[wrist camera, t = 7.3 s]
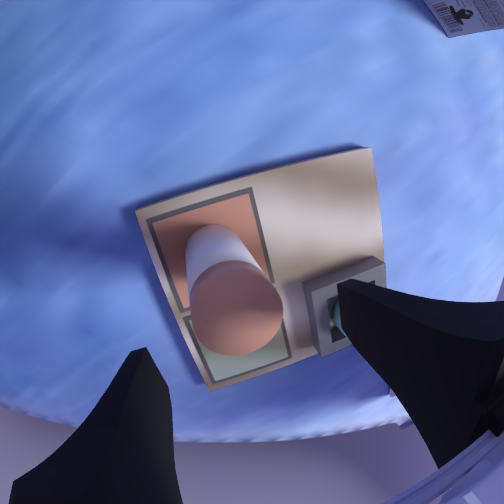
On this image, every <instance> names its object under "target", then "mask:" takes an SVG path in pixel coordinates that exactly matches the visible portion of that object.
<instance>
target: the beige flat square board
mask: <svg viewBox="0 0 504 504" xmlns="http://www.w3.org/2000/svg"><path fill="white" fill-rule="evenodd" d="M135 213H136V216H137V219H138V222H139V225H140V228H141V231H142V234H143V237H144V239H145V242H146V245H147V248H148V250H149V253H150V256H151V259H152V261H153V264H154V266H155V269H156V272H157V274H158V277H159V279H160V282H161V284H162V287H163V289H164V292H165V294H166V297H167V299H168V302H169V304H170V306H171V309H172V311H173V314H174V316H175V318H176V321H177V323H178V325H179V327H180V330H181V332H182V334H183V337H184V339H185V341H186V343H187V345H188V348H189V350H190V352H191V354H192V356H193V358H194V361H195V363H196V365H197V367H198V369H199V371H200V373H201V375H202V377H203V379H204V381H205V383H206V385H207V387H208V389H209V391H213V390H216V389H220V388H223V387H226V386H229V385H233V384H236V383H239V382H242V381H245V380H248V379H251V378H254V377H257V376H260V375H263V374H266V373H268V372H271V371H274V370H277V369H280V368H282V367H285V366H288V365H290V364H293V363H296V362H298V361H301V360H303V359H306V358H309V357H311V356H314V355H316V354H318V352H317V350H316V349H315V348H314V346H313V340H312V334H311V329H310V323H309V317H308V311H307V306H306V300H305V295H304V289H303V284H302V282H304V281H307V280H309V279H312V278H315V277H318V276H321V275H323V274H326V273H329V272H332V271H334V270H337V269H340V268H342V267H345V266H348V265H350V264H353V263H356V262H358V261H361V260H364V259H366V258H369V257H371V256H375V257H376V258H378V259H379V260H381V261H383V262H384V251H383V237H382V226H381V215H380V206H379V197H378V189H377V181H376V174H375V167H374V161H373V154H372V148H371V147H360V148H355V149H351V150H346V151H341V152H336V153H332V154H327V155H322V156H318V157H314V158H309V159H305V160H301V161H296V162H292V163H288V164H284V165H280V166H276V167H272V168H268V169H264V170H261V171H257V172H253V173H249V174H246V175H242V176H238V177H235V178H231V179H228V180H224V181H221V182H217V183H214V184H210V185H207V186H204V187H200V188H197V189H194V190H191V191H187V192H184V193H181V194H178V195H175V196H172V197H168V198H165V199H162V200H159V201H156V202H153V203H150V204H147V205H144V206H141V207H139V208H137V209H136V210H135ZM210 224H219V225H224V226H226V227H229V228H230V229H232V230H233V231H234V232H235V233H236V234H237V235H238V237H239V238H240V239H241V241H242V242H243V244H244V245H245V247H246V248H247V249H248V251H249V252H250V254H251V255H252V257H253V258H254V259H255V261H256V262H257V264H258V265H259V266H260V268H261V269H262V271H263V272H264V274H265V275H266V276H267V278H268V279H269V281H270V282H271V283H272V285H273V286H274V288H275V289H276V291H277V292H278V293H279V295H280V297H281V300H282V303H283V319H282V323H281V325H280V328H279V330H278V331H277V333H276V334H275V336H274V337H273V338H272V339H271V340H270V341H269V342H268V343H267V344H266V345H264V346H263V347H261V348H260V349H258V350H256V351H253V352H251V353H248V354H244V355H236V356H230V355H222V354H219V353H216V352H213V351H211V350H209V349H208V348H206V347H205V346H204V345H203V344H202V343H201V342H200V341H199V340H198V338H197V337H196V335H195V333H194V330H193V327H192V321H191V312H190V303H189V293H188V283H187V273H186V261H185V247H186V244H187V241H188V239H189V238H190V236H191V235H192V234H193V233H194V232H195V231H196V230H198V229H199V228H201V227H203V226H206V225H210ZM337 298H338V295H337V296H334V297H331V298H329V299H327V306H328V313H329V321H330V329H332V328H335V327H337V326H336V325H335V324H334V323H333V321H332V319H331V310H332V307H333V304H334V303H335V301H336V300H337Z"/></svg>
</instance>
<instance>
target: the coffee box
mask: <svg viewBox="0 0 504 504" xmlns="http://www.w3.org/2000/svg"><path fill="white" fill-rule="evenodd" d="M423 1H424V3H425V4H426V5H427V7H428V8H429V9H430V11H431V12H432V13H433V15H434V16H435V18H436V19H437V21H438V22H439V23H440V25H441V26H442V28H443V29H444V31H445V32H446V34H447V36H448V37H449V38H452V37H456V36H461V35H467V34H472V33H477V32H483V31H489V30H496V29H504V0H423Z"/></svg>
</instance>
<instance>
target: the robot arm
mask: <svg viewBox="0 0 504 504" xmlns="http://www.w3.org/2000/svg"><path fill="white" fill-rule="evenodd" d="M337 292H338V301H339V309H340V319H341V328H342V329H343V331H344V332H345V334H346V336H347V337H348V339H349V340H350V342H351V343H352V345H353V346H354V347H355V348H356V350H357V351H358V352H359V353H360V354H361V355H362V356H363V358H364V359H365V360H366V361H367V362H368V363H369V364H370V365H371V366H372V368H373V369H374V370H375V371H376V372H377V373H378V374H379V375H380V376H381V378H382V379H383V380H384V381H385V382H386V383H387V384H388V386H389V387H390V392H389V395H390V397H394V396H397V398H398V399H399V401H400V402H401V404H402V405H403V406H404V408H405V409H406V411H407V413H408V414H409V416H410V417H411V419H412V421H413V422H414V424H415V425H416V427H417V429H418V431H419V432H420V434H421V436H422V438H423V439H424V441H425V443H426V445H427V447H428V449H429V451H430V453H431V455H432V457H433V459H434V461H435V463H436V465H437V467H438V470H437V471H435V472H434V473H433V474H431V475H430V476H428V477H426V478H425V479H423V480H422V481H420V482H419V483H417V484H416V485H414V486H412V487H411V488H409V489H407V490H406V491H404V492H402V493H401V494H399V495H397V496H395V497H394V498H392V499H390V500H388V501H386V502H385V503H383V504H428V503H430V502H431V501H433V500H434V499H436V498H437V497H439V496H440V495H441V494H442V493H444V492H446V491H447V490H448V489H449V490H448V491H447V492H446V493H445V494H444V495H442V498H441V501H440V502H439V503H438V504H504V301H496V302H454V301H444V300H437V299H430V298H424V297H419V296H415V295H410V294H406V293H402V292H398V291H395V290H391V289H387V288H384V287H381V286H377V285H374V284H370V283H367V282H363V281H360V280H356V279H348V280H346V281H343V282H340V283H338V284H337ZM451 487H452V488H451ZM450 488H451V489H450ZM9 504H183V502H182V498H181V494H180V490H179V485H178V480H177V475H176V470H175V462H174V447H173V422H172V407H171V400H170V394H169V389H168V385H167V384H166V382H165V380H164V379H163V377H162V375H161V373H160V372H159V370H158V368H157V366H156V364H155V363H154V361H153V359H152V357H151V355H150V353H149V352H148V350H147V348H146V347H145V348H141V349H138V350H134V351H131V352H130V354H129V355H128V356H127V358H126V359H125V361H124V363H123V364H122V366H121V368H120V369H119V371H118V372H117V374H116V376H115V377H114V379H113V380H112V382H111V384H110V385H109V387H108V388H107V390H106V391H105V393H104V394H103V396H102V397H101V399H100V400H99V402H98V403H97V405H96V406H95V408H94V409H93V410H92V412H91V413H90V414H89V416H88V417H87V418H86V419H85V421H84V422H83V423H82V424H81V425H80V426H79V428H78V429H77V430H76V431H75V432H74V433H73V434H72V435H71V436H70V437H69V438H68V439H67V440H66V442H64V443H63V444H62V445H61V446H60V447H59V448H58V449H57V450H56V451H55V452H54V453H53V454H52V455H50V456H49V457H48V458H47V459H45V460H44V461H43V462H42V463H40V464H39V465H38V466H36V467H35V468H33V469H32V470H30V471H29V472H27V473H26V474H24V475H23V476H21V477H20V478H18V479H16V480H15V481H13V485H12V490H11V494H10V500H9Z"/></svg>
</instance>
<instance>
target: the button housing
mask: <svg viewBox="0 0 504 504" xmlns="http://www.w3.org/2000/svg"><path fill="white" fill-rule="evenodd" d="M348 279H356V280H360V281H363V282H367V283H370V284H374V285H377V286H381V287H384V288H386V266H385V263H384V262H383V261H381V260H379V259H378V258H376V257H375V256H371V257H369V258H366V259H364V260H361V261H358V262H356V263H353V264H350V265H348V266H345V267H342V268H340V269H337V270H334V271H332V272H329V273H326V274H323V275H321V276H318V277H315V278H312V279H309V280H307V281H304V282H302V284H303V289H304V295H305V300H306V306H307V311H308V317H309V323H310V329H311V334H312V340H313V346H314V348H315V349H316V350H317V352H318V353H319V355H320V356H321V358H322V357H324V356H327V355H329V354H331V353H334V352H336V351H338V350H341V349H343V348H345V347H348V346H350V345H352V343H351V342H350V340H349V339H348V338H347V337H346V336H345V335H344V334H343V333H342V332H341V331H340V329H339V328H338V327H335V328H332V329H330V321H329V313H328V306H327V299H329V298H331V297H334V296H337V295H338V292H337V284H338V283H340V282H343V281H346V280H348Z"/></svg>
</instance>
